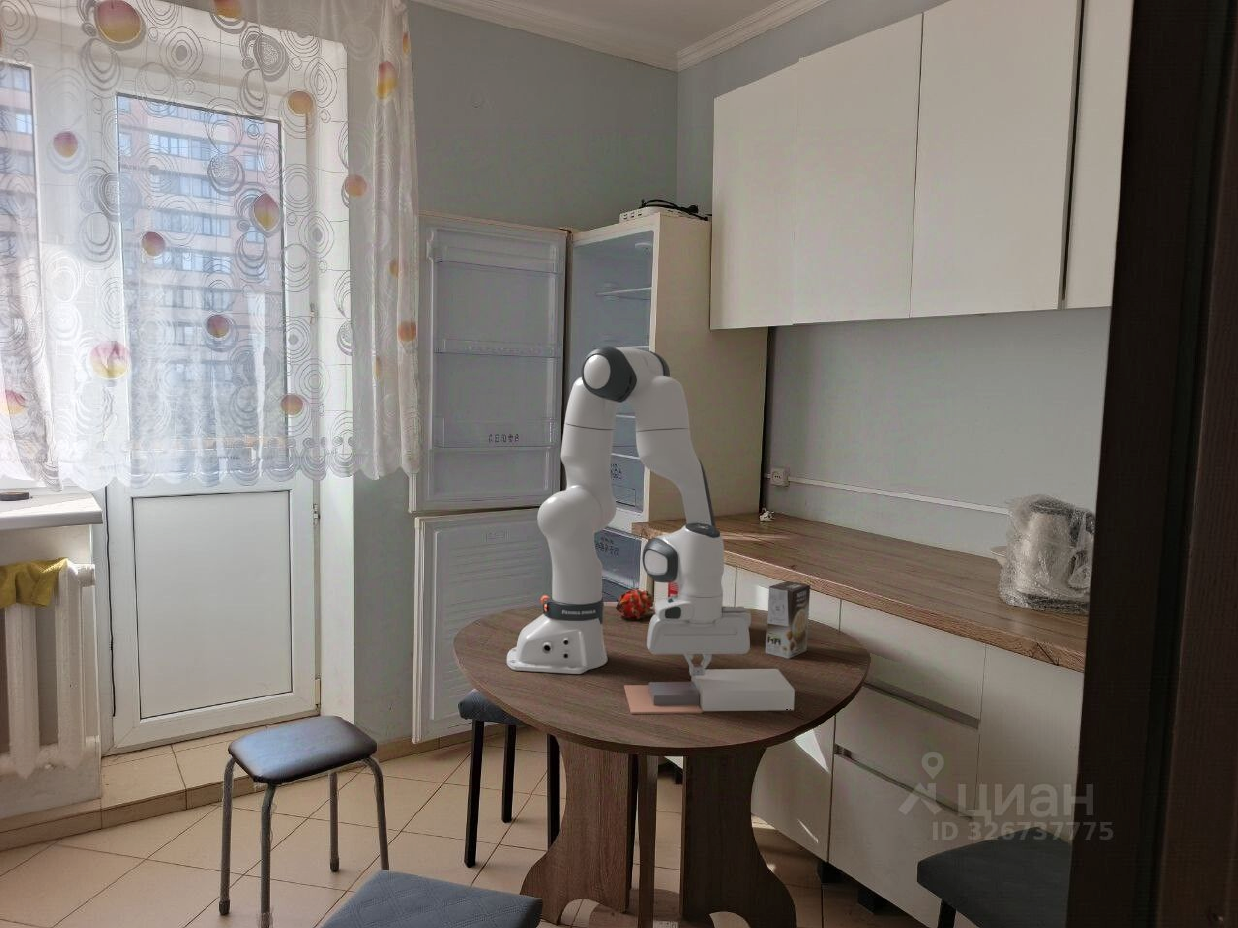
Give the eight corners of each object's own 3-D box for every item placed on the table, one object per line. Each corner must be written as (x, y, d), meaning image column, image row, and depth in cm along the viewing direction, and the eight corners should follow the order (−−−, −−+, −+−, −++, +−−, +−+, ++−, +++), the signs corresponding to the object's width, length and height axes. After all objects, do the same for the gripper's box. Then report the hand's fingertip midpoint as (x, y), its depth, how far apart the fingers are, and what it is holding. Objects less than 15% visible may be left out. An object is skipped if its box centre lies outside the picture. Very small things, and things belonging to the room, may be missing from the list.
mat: (631, 714, 158) (631, 711, 158) (623, 687, 171) (624, 685, 171) (702, 713, 159) (702, 711, 159) (689, 686, 173) (689, 684, 173)
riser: (702, 711, 160) (703, 690, 160) (691, 688, 172) (691, 669, 171) (793, 709, 162) (794, 689, 161) (776, 687, 174) (777, 668, 173)
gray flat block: (653, 705, 161) (653, 695, 161) (648, 691, 168) (648, 682, 168) (699, 704, 162) (699, 694, 162) (692, 691, 169) (692, 681, 169)
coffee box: (789, 659, 192) (792, 591, 190) (764, 653, 196) (767, 586, 194) (807, 650, 199) (810, 584, 197) (783, 644, 203) (786, 579, 201)
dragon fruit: (656, 620, 226) (619, 633, 220) (639, 597, 231) (603, 609, 225) (665, 600, 221) (627, 613, 214) (648, 577, 226) (611, 588, 219)
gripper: (747, 602, 168) (744, 668, 170) (646, 602, 166) (644, 669, 168) (755, 610, 162) (752, 679, 163) (651, 610, 160) (648, 680, 161)
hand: (697, 674), depth 166 cm, fingers closed
